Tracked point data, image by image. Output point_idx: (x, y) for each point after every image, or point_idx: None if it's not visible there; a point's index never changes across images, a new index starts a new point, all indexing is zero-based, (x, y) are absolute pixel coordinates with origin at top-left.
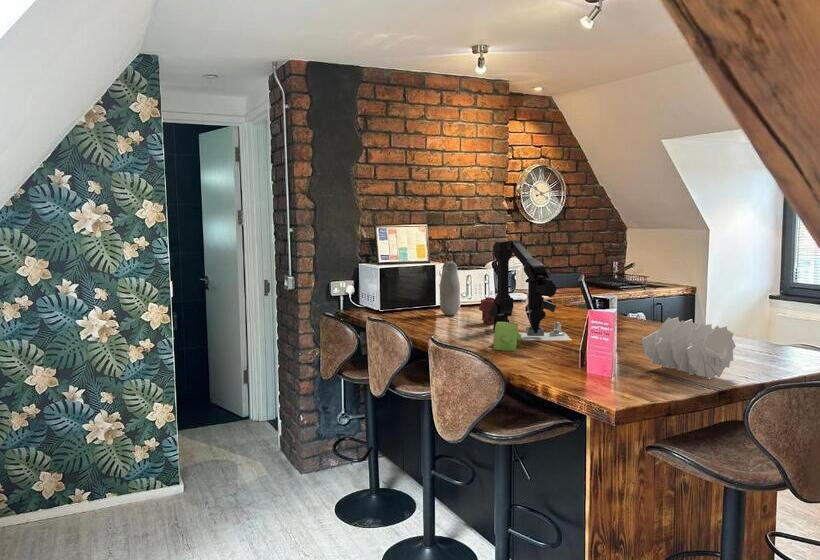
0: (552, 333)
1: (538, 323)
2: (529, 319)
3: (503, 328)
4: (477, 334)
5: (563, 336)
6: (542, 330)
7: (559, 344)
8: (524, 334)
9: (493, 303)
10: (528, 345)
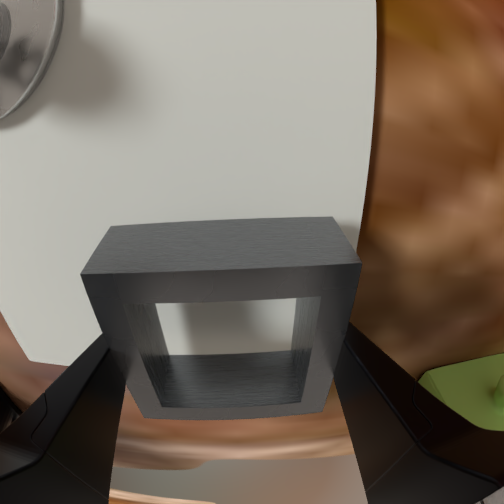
0: (25, 84)
1: (433, 412)
2: (108, 478)
3: None
4: (131, 466)
5: None
6: (357, 279)
7: (476, 77)
8: (73, 340)
9: None
10: (448, 316)
